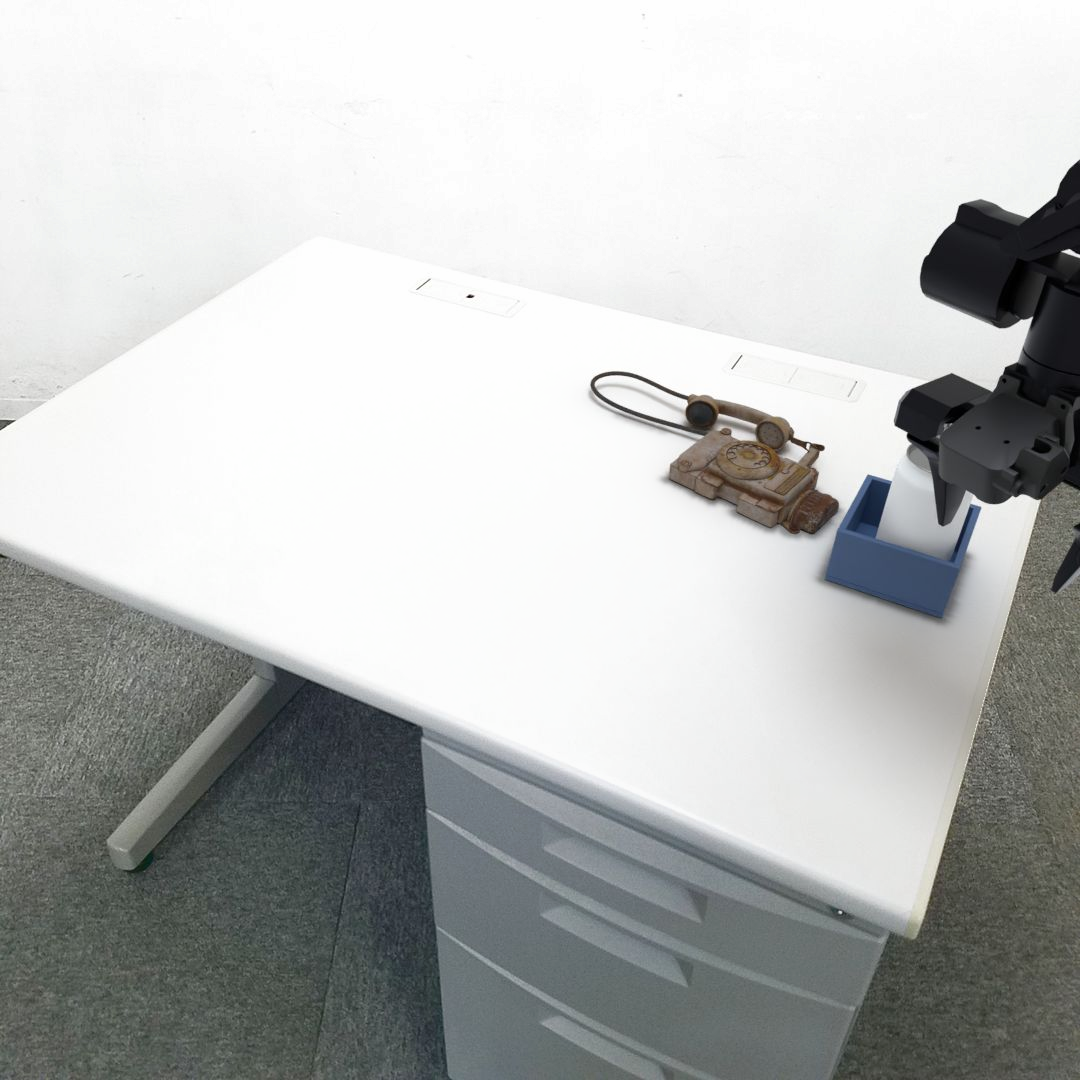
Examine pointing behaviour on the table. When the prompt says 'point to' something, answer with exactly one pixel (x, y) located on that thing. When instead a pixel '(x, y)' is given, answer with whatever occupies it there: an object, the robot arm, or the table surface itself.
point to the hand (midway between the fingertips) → (998, 555)
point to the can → (918, 510)
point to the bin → (892, 556)
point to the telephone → (745, 463)
